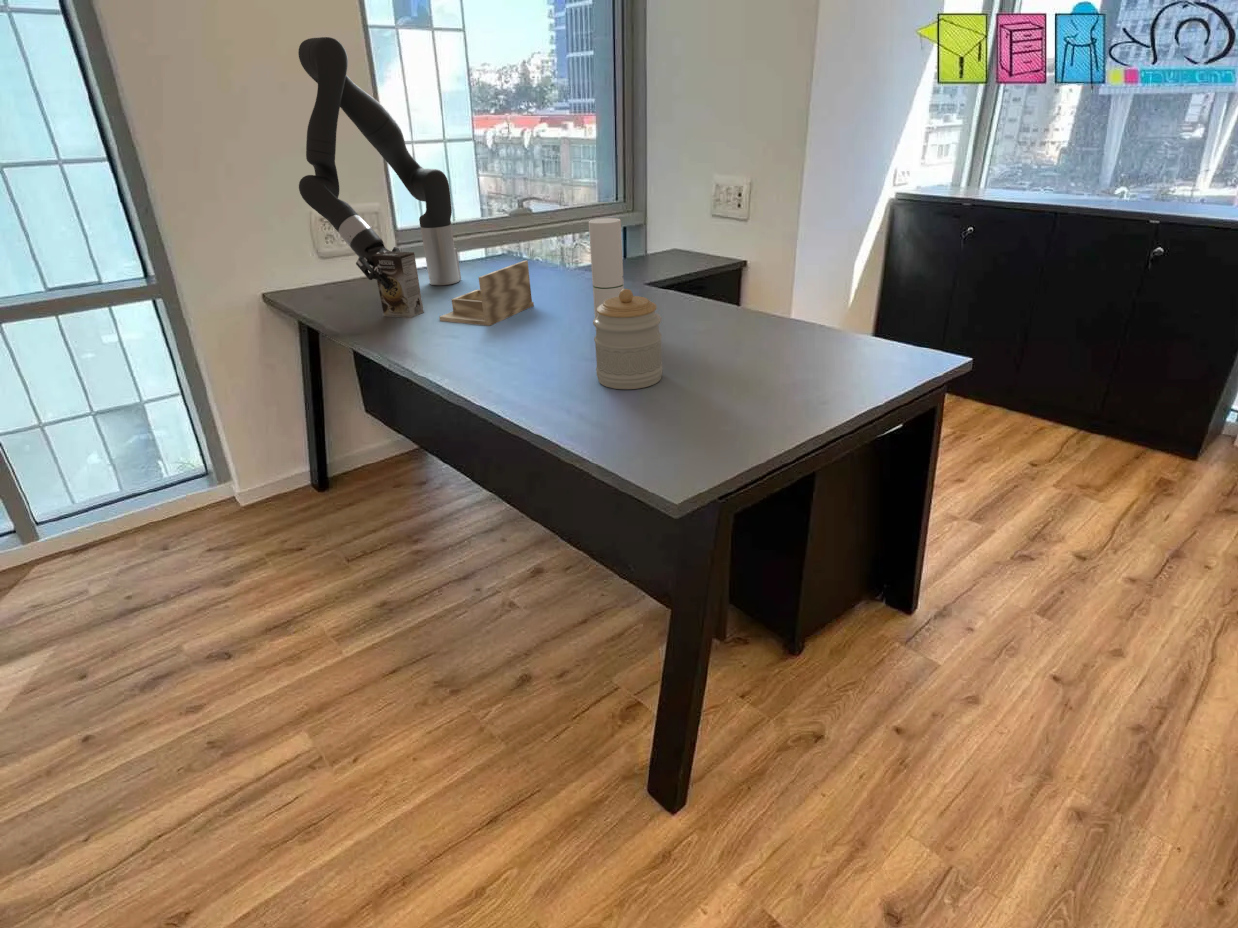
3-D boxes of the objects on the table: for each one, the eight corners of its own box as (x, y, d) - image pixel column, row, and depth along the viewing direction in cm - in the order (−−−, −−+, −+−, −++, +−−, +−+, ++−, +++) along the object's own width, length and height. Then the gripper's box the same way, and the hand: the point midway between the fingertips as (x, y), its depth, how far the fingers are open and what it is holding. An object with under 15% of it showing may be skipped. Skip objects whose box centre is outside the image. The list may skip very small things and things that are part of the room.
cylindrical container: (627, 325, 174) (622, 217, 163) (624, 334, 168) (618, 222, 157) (597, 326, 175) (590, 218, 164) (593, 335, 169) (586, 224, 157)
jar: (672, 384, 137) (670, 292, 129) (607, 395, 134) (601, 301, 126) (650, 364, 149) (647, 278, 141) (589, 373, 146) (583, 285, 138)
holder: (486, 301, 203) (480, 258, 197) (533, 305, 196) (529, 260, 190) (439, 320, 187) (432, 273, 182) (489, 325, 180) (483, 277, 175)
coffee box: (382, 316, 194) (370, 255, 186) (397, 310, 199) (386, 250, 191) (410, 318, 190) (399, 256, 183) (425, 312, 196) (414, 251, 188)
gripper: (345, 232, 182) (388, 281, 182) (385, 223, 193) (426, 269, 193) (335, 253, 187) (377, 300, 187) (375, 242, 198) (414, 287, 198)
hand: (402, 284), depth 190 cm, fingers open, 8 cm apart
